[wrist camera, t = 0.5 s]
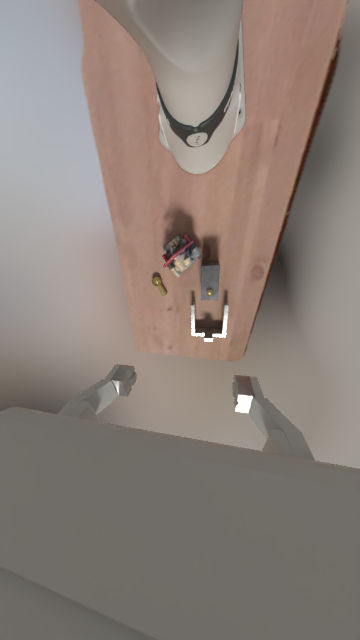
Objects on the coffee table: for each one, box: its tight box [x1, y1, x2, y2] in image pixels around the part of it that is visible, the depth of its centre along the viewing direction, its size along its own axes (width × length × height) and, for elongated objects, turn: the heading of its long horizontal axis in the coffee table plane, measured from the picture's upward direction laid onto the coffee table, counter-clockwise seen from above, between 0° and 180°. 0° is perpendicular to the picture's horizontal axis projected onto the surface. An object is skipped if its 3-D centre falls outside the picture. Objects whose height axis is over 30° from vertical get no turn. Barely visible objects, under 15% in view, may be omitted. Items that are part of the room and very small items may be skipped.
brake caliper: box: [162, 234, 201, 277], centre depth 43 cm, size 11×11×12 cm
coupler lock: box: [201, 262, 220, 300], centre depth 44 cm, size 10×5×8 cm, turn 4°
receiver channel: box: [191, 301, 229, 341], centre depth 51 cm, size 13×12×7 cm
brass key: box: [152, 276, 167, 296], centre depth 51 cm, size 7×3×2 cm, turn 29°
